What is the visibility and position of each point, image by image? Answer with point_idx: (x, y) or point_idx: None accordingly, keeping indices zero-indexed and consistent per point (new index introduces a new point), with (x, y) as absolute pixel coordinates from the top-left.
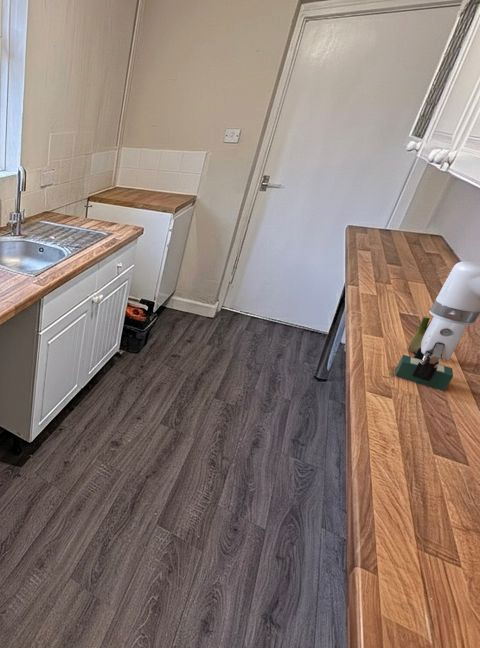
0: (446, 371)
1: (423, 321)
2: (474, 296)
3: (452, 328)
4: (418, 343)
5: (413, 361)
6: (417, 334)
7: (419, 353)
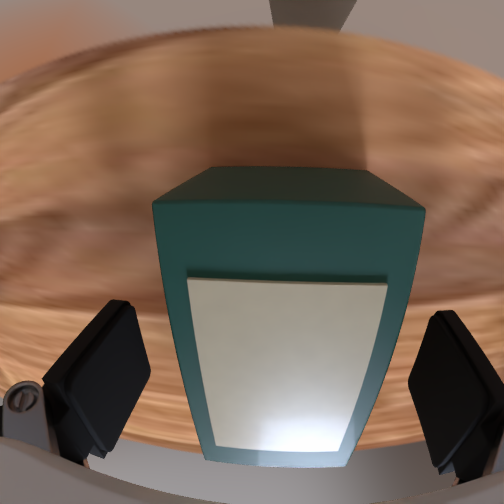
0: (337, 263)
1: None
2: None
3: None
4: None
5: (297, 444)
6: None
7: (119, 419)
